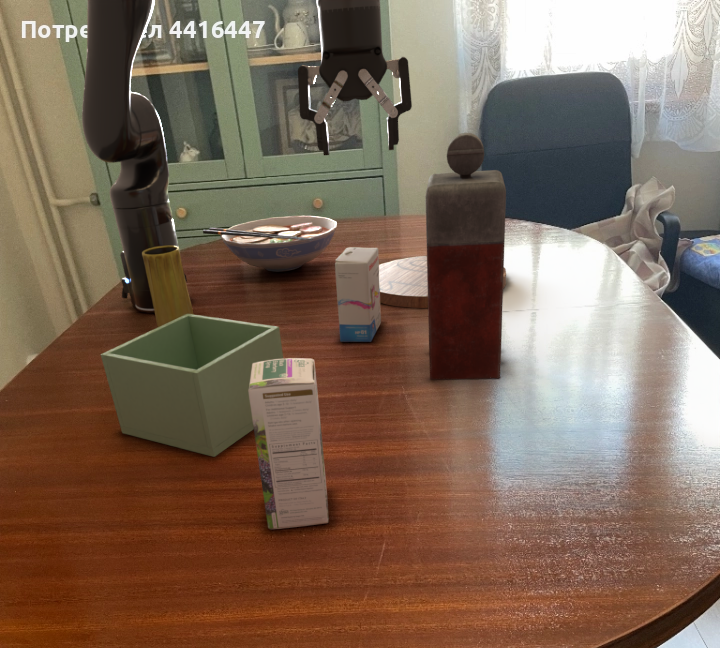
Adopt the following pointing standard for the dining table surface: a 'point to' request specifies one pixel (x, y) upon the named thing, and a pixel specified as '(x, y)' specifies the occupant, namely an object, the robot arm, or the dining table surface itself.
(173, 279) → the vase
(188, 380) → the waste bin
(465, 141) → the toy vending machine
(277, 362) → the syrup box
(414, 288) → the trivet
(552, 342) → the dining table surface
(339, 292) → the ink box
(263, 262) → the ramen bowl
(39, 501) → the dining table surface
